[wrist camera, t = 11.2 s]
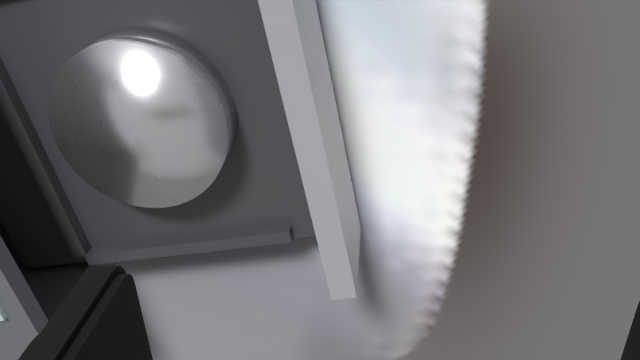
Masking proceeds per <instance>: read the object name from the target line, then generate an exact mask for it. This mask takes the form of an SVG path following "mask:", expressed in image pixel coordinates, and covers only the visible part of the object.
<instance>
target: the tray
mask: <svg viewBox="0 0 640 360" xmlns="http://www.w3.org/2000/svg"><path fill="white" fill-rule="evenodd" d="M126 29H150V30H156V31H160V32H164V33H167V34H170V35H173V36H175V37H177V38H180V39H182V40H183V41H185V42H187V43H189V44H190V45H192V46H193V47H195V48H196V49H197V50H199V51H200V52H201V53H203V54H204V55H205V56H206V57H207V58H208V59H209V60H210V61H211V62H212V63H213V65H214V66H215V67H216V68H217V69H218V71H219V72H220V74H221V75H222V76H223V78H224V79H225V81H226V83H227V85H228V87H229V89H230V92H231V95H232V97H233V100H234V105H235V109H236V119H237V125H236V134H235V139H234V143H233V145H232V148H231V150H230V152H229V154H228V156H227V158H226V160H225V162H224V164H223V166H222V168H221V170H220V171H219V173H218V175H217V177H216V179H215V180H214V181H213V182H212V184H211V185H210V186H209V187H208V188H207V189H206V190H205V191H204V192H203V193H201V194H200V195H198V196H197V197H195V198H194V199H192V200H190V201H188V202H185V203H182V204H179V205H176V206H171V207H165V208H145V207H139V206H133V205H130V204H126V203H123V202H120V201H118V200H115V199H113V198H111V197H109V196H107V195H105V194H103V193H101V192H100V191H98V190H96V189H95V188H93V187H92V186H91V185H89V184H88V183H87V182H86V181H84V180H83V179H82V178H81V177H80V176H79V175H78V174H77V173H76V172H75V171H74V170H73V169H72V167H71V166H70V165H69V164H68V163H67V161H66V160H65V158H64V157H63V155H62V154H61V152H60V150H59V148H58V146H57V144H56V142H55V140H54V137H53V135H52V131H51V127H50V124H49V116H48V99H49V93H50V89H51V86H52V83H53V81H54V79H55V77H56V75H57V73H58V71H59V70H60V69H61V68H62V66H63V65H64V64H65V63H66V62H67V61H68V60H69V59H70V58H71V57H72V56H74V55H75V54H77V53H78V52H80V51H82V50H83V49H85V48H86V47H88V46H89V45H91V44H92V43H94V42H95V41H97V40H99V39H100V38H102V37H104V36H106V35H108V34H110V33H113V32H117V31H120V30H126ZM0 221H1V223H2V225H3V226H4V228H5V230H6V232H7V234H8V235H9V237H10V239H11V241H12V243H13V244H14V246H15V248H16V250H17V252H18V253H19V255H20V257H21V259H22V261H23V262H24V264H25V266H26V268H27V269H29V268H37V267H46V266H55V265H64V264H73V263H82V262H88V264H89V265H96V264H105V263H114V262H123V261H132V260H141V259H150V258H159V257H168V256H177V255H186V254H195V253H204V252H213V251H222V250H231V249H240V248H249V247H258V246H267V245H276V244H285V243H292V240H293V239H295V238H304V237H313V236H316V239H317V243H318V247H319V251H320V255H321V259H322V263H323V267H324V272H325V276H326V280H327V284H328V288H329V292H330V296H331V300H337V299H348V298H357V287H358V268H359V250H360V231H361V226H360V221H359V216H358V211H357V206H356V201H355V196H354V191H353V186H352V181H351V176H350V171H349V166H348V161H347V156H346V151H345V146H344V141H343V136H342V131H341V126H340V121H339V116H338V111H337V106H336V101H335V96H334V91H333V86H332V80H331V75H330V70H329V65H328V60H327V55H326V50H325V45H324V40H323V35H322V30H321V25H320V20H319V15H318V10H317V5H316V0H0Z"/></svg>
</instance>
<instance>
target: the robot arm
mask: <svg viewBox="0 0 640 360" xmlns="http://www.w3.org/2000/svg"><path fill="white" fill-rule="evenodd" d="M18 360H153V359H152V355H151V351H150V346H149V342H148V338H147V334H146V329H145V325H144V321H143V317H142V312H141V308H140V304H139V300H138V295H137V291H136V287H135V282H134V279H133V277H132V275H130V274H126V273H125V270H124V269H123V268H122V267H120V266H100V265H92V266H89V267H88V268H87V269H86V271H85V272H84V273H83V275H82V276H81V278H80V279H79V280H78V282H77V283H76V284H75V286H74V287H73V288H72V290H71V291H70V293H69V294H68V295H67V297H66V298H65V299H64V301H63V302H62V304H61V305H60V306H59V308H58V309H57V310H56V312H55V313H54V315H53V316H52V317H51V319H50V320H49V321H48V323H47V324H46V326H45V327H44V328H43V330H42V331H41V332H40V334H38V335H37V336H36V337H35V338H34V339H33V340H32V341H31V343H30V344H29V345H28V347H27V348H26V349H25V351H24V352H23V353H22V355H21V356H20V358H19V359H18ZM621 360H640V302H639V304H638V307H637V310H636V313H635V317H634V319H633V323H632V326H631V329H630V332H629V335H628V338H627V342H626V344H625V348H624V351H623V354H622V357H621Z"/></svg>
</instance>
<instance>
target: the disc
mask: <svg viewBox="0 0 640 360" xmlns="http://www.w3.org/2000/svg"><path fill="white" fill-rule="evenodd" d="M48 116H49V124H50V127H51V131H52V135H53V137H54V140H55V142H56V144H57V146H58V148H59V150H60V152H61V154H62V155H63V157H64V158H65V160H66V161H67V163H68V164H69V165H70V166H71V167H72V169H73V170H74V171H75V172H76V173H77V174H78V175H79V176H80V177H81V178H82V179H83V180H84V181H86V182H87V183H88V184H89V185H91V186H92V187H93V188H95V189H96V190H98V191H100V192H101V193H103V194H105V195H107V196H109V197H111V198H113V199H115V200H118V201H120V202H123V203H126V204H130V205H133V206H139V207H145V208H165V207H171V206H176V205H179V204H182V203H185V202H188V201H190V200H192V199H194V198H195V197H197V196H198V195H200V194H201V193H203V192H204V191H205V190H206V189H207V188H208V187H209V186H210V185H211V184H212V182H213V181H214V180H215V179H216V177H217V175H218V173H219V171H220V170H221V168H222V166H223V164H224V162H225V160H226V158H227V156H228V154H229V152H230V150H231V148H232V145H233V143H234V139H235V134H236V125H237V119H236V109H235V105H234V100H233V97H232V95H231V92H230V89H229V87H228V85H227V83H226V81H225V79H224V78H223V76H222V75H221V74H220V72H219V71H218V69H217V68H216V67H215V66H214V65H213V63H212V62H211V61H210V60H209V59H208V58H207V57H206V56H205V55H204V54H203V53H201V52H200V51H199V50H197V49H196V48H195V47H193V46H192V45H190V44H189V43H187V42H185V41H183V40H182V39H180V38H177V37H175V36H173V35H170V34H167V33H164V32H160V31H156V30H150V29H126V30H120V31H117V32H113V33H110V34H108V35H106V36H104V37H102V38H100V39H99V40H97V41H95V42H94V43H92V44H91V45H89V46H88V47H86V48H85V49H83V50H82V51H80V52H78V53H77V54H75V55H74V56H72V57H71V58H70V59H69V60H68V61H67V62H66V63H65V64H64V65H63V66H62V68H61V69H60V70H59V71H58V73H57V75H56V77H55V79H54V81H53V83H52V86H51V89H50V93H49V99H48Z"/></svg>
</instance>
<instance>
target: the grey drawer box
mask: <svg viewBox="0 0 640 360" xmlns="http://www.w3.org/2000/svg"><path fill="white" fill-rule="evenodd" d="M115 264H116V262H114V263H105V264H96V265H100V266H115ZM89 266H92V265H89V264H88V262H82V263H73V264H64V265H55V266H46V267H37V268H29V269H27V268H26V266H25V264H24V262H23V261H22V259H21V257H20V255H19V253H18V252H17V250H16V248H15V246H14V244H13V243H12V241H11V239H10V237H9V235H8V234H7V232H6V230H5V228H4V226H3V225H2V223H1V221H0V360H18V359H19V358H20V356H21V355H22V353H23V352H24V351H25V349H26V348H27V347H28V345H29V344H30V343H31V341H32V340H33V339H34V338H35V337H36V336H37V335H38V334H40V332H41V331H42V330H43V328H44V327H45V326H46V324H47V323H48V321H49V320H50V319H51V317H52V316H53V315H54V313H55V312H56V310H57V309H58V308H59V306H60V305H61V304H62V302H63V301H64V299H65V298H66V297H67V295H68V294H69V293H70V291H71V290H72V288H73V287H74V286H75V284H76V283H77V282H78V280H79V279H80V278H81V276H82V275H83V273H84V272H85V271H86V269H87V268H88V267H89Z"/></svg>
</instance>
